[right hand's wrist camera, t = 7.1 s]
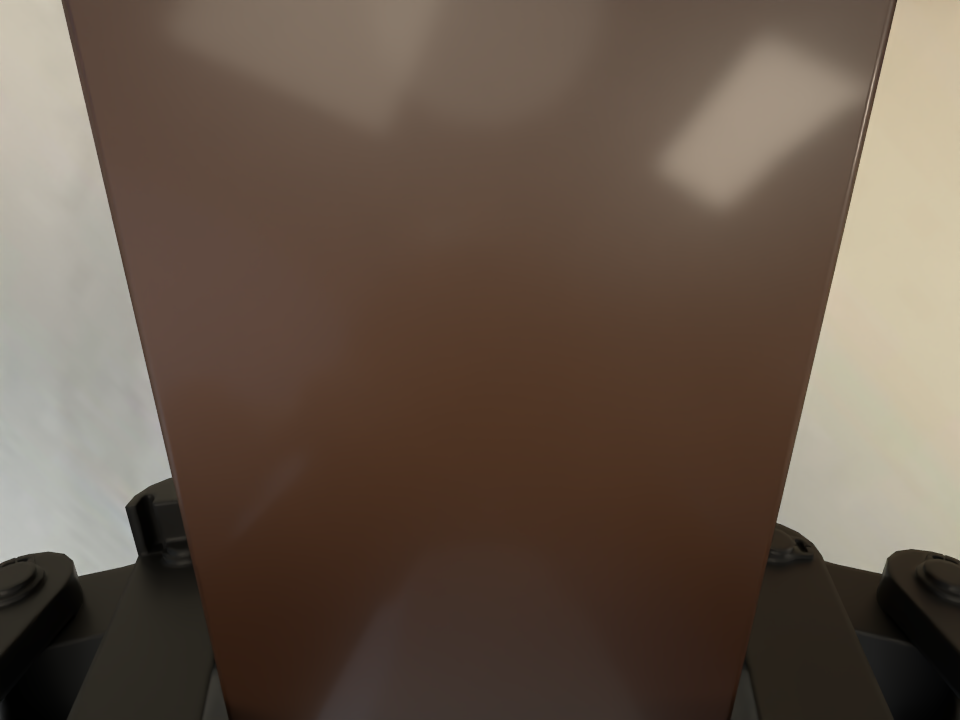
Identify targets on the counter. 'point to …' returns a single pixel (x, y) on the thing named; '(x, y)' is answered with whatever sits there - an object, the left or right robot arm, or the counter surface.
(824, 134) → the walnut box
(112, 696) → the right robot arm
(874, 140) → the counter surface
